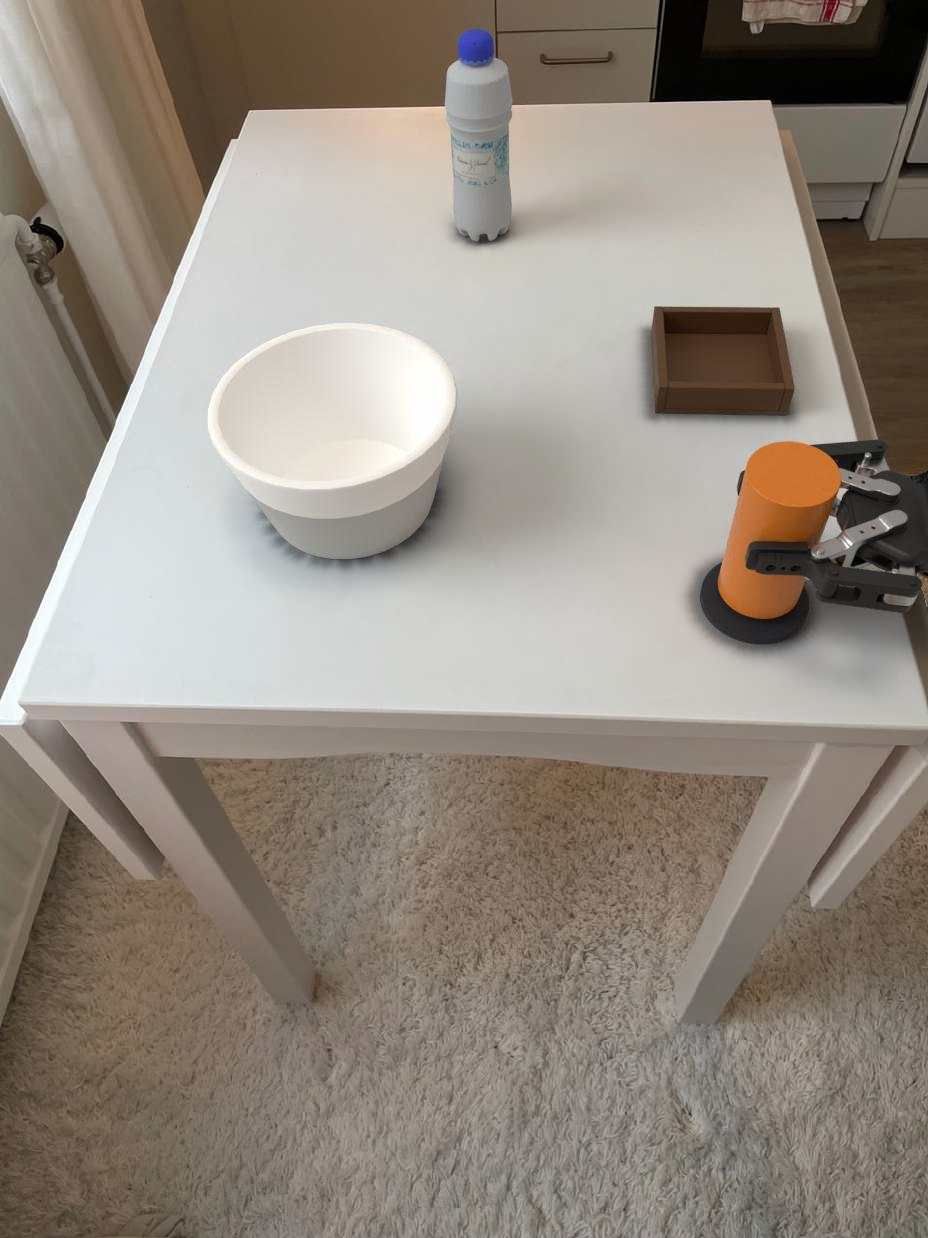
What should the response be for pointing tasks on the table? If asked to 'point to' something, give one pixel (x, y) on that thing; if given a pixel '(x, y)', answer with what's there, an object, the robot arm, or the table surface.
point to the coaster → (748, 626)
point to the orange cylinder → (776, 522)
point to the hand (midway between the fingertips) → (743, 518)
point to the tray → (720, 361)
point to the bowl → (337, 434)
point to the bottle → (479, 137)
